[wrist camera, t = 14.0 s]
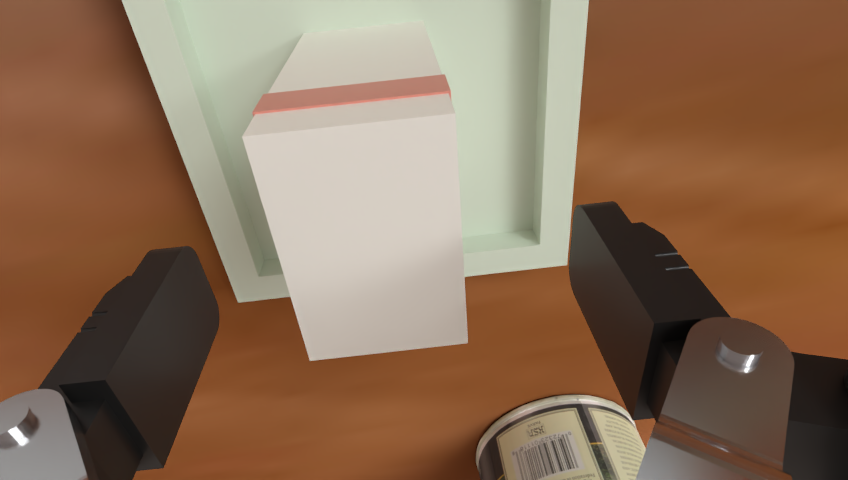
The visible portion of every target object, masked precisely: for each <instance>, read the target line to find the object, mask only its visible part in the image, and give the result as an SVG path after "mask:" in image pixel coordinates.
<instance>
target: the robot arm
mask: <svg viewBox="0 0 848 480" xmlns="http://www.w3.org/2000/svg"><path fill="white" fill-rule="evenodd" d="M569 275H570V282H571V287H572V290H573V293H574V296H575V298H576V300H577V302H578V304H579V306H580V308H581V311H582V313H583V315H584V317H585V319H586V321H587V324H588V326H589V328H590V330H591V332H592V334H593V336H594V339H595V341H596V343H597V345H598V347H599V349H600V352H601V354H602V356H603V358H604V360H605V362H606V364H607V367H608V369H609V371H610V373H611V375H612V377H613V380H614V382H615V384H616V386H617V388H618V390H619V392H620V395H621V397H622V399H623V401H624V403H625V405H626V408H627V410H628V412H629V414H630V416H631V418H632V420H640V419H650V418H655V420H656V423H655V425H654V428H653V431H652V434H651V436H650V439H649V442H648V445H647V448H646V451H645V454H644V457H643V459H642V462H641V465H640V468H639V471H638V474H637V477H636V480H848V360H846V359H838V358H831V357H823V356H816V355H808V354H801V353H795V352H790V350H789V348H788V347H787V346H786V345H785V343H784V342H783V341H782V340H781V339H779V338H778V337H777V336H776V335H774V334H773V333H772V332H770V331H768V330H767V329H765V328H763V327H761V326H759V325H757V324H754V323H751V322H748V321H746V320H741V319H737V318H731V317H730V316H729V315H728V313H727V312H726V311H725V310H724V308H723V307H722V306H721V305H720V303H719V302H718V301H717V300H716V298H715V297H714V296H713V295H712V294H711V292H710V291H709V290H708V289H707V287H706V286H705V285H704V284H703V282H702V281H701V280H700V279H699V278H698V276H697V275H696V274H695V273H694V271H693V270H692V269H689V267H688V264H687V263H686V261H685V260H684V259H683V258H682V257H681V255H678V254H677V250H676V249H675V248H674V247H673V245H672V244H671V243H670V242H669V241H668V239H667V238H666V237H665V236H664V235H663V234H661V233H660V232H658V231H656V230H655V229H653V228H651V227H650V226H648V225H646V224H645V223H643V222H641V223H631V222H630V220H629V219H628V218H627V216H626V215H625V214H624V212H623V211H622V210H621V208H620V207H619V206H618V204H617V203H616V202H613V201H612V202H603V203H594V204H585V205H577V206H576V208H575V210H574V215H573V226H572V238H571V249H570V260H569ZM218 326H219V309H218V304H217V301H216V299H215V296H214V294H213V292H212V289H211V287H210V284H209V282H208V280H207V277H206V275H205V273H204V270H203V268H202V266H201V263H200V261H199V258H198V256H197V254H196V252H195V251H194V250H193V248H191V247H189V246H184V247H175V248H165V249H156V250H151V251H149V252H148V253H147V254H146V256H145V257H144V259H143V260H142V262H141V263H140V264H139V266H138V267H137V269H136V270H135V272H134V273H133V275H132V276H127V277H126V278H125V279H123V280H122V281H121V282H120V283H118V284H117V285H116V286H115V287H113V288H112V289H111V290H110V291H108V292H107V293H106V294H105V295H104V297H103V298H102V299H101V301H100V302H99V304H98V305H97V306H96V308H95V309H94V311H93V312H92V316H91V317H89V318H88V319H87V321H86V322H85V323H84V325H83V326H82V328H81V332H80V333H77V335H76V336H75V337H74V339H73V340H72V342H71V343H70V344H69V346H68V347H67V349H66V350H65V351H64V353H63V354H62V356H61V357H60V358H59V360H58V361H57V363H56V364H55V365H54V367H53V368H52V370H51V371H50V373H49V374H48V375H47V377H46V378H45V380H44V381H43V382H42V384H41V385H40V387H39V388H38V389H36V390H31V391H27V392H23V393H21V394H18V395H15V396H13V397H11V398H8V399H6V400H5V401H3V402H1V403H0V480H132V479H133V477H134V475H135V472H136V471H140V470H149V469H159V468H164V465H165V463H166V460H167V458H168V455H169V453H170V450H171V447H172V445H173V442H174V440H175V437H176V435H177V432H178V430H179V427H180V425H181V422H182V420H183V417H184V414H185V412H186V409H187V407H188V404H189V402H190V399H191V397H192V394H193V392H194V389H195V387H196V384H197V381H198V379H199V376H200V374H201V371H202V369H203V366H204V364H205V361H206V359H207V356H208V354H209V351H210V348H211V346H212V343H213V341H214V338H215V336H216V333H217V330H218Z"/></svg>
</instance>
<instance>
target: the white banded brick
mask: <svg viewBox="0 0 848 480" xmlns="http://www.w3.org/2000/svg"><path fill="white" fill-rule="evenodd" d="M252 114H253V119H252V121H251V122H250V124H249V126H248V127H247V129H246V131H245V132H244V134H243V136H242V139H243V142H244V145H245V148H246V152H247V155H248V158H249V162H250V165H251V168H252V172H253V175H254V178H255V181H256V185H257V188H258V191H259V195H260V198H261V201H262V205H263V208H264V211H265V214H266V218H267V221H268V224H269V228H270V231H271V234H272V237H273V241H274V244H275V247H276V251H277V254H278V257H279V261H280V264H281V267H282V270H283V274H284V277H285V280H286V284H287V287H288V290H289V293H290V297H291V300H292V303H293V307H294V310H295V313H296V317H297V320H298V323H299V326H300V330H301V333H302V336H303V340H304V343H305V346H306V350H307V353H308V356H309V359H310V361H315V360H323V359H332V358H341V357H350V356H359V355H368V354H376V353H385V352H394V351H403V350H412V349H421V348H429V347H438V346H447V345H456V344H465V343H468V333H467V315H466V296H465V278H464V260H463V241H462V223H461V205H460V186H459V168H458V150H457V131H456V113H455V110H454V108H453V105H452V102H451V90H450V87H449V84H448V82H447V79H446V76H445V74H443V75H442V73H441V70H440V68H439V65H438V62H437V59H436V56H435V53H434V50H433V47H432V45H431V42H430V39H429V36H428V33H427V30H426V27H425V25H424V22H423V20H422V21H413V22H404V23H394V24H385V25H376V26H366V27H357V28H348V29H338V30H329V31H320V32H310V33H303V35H302V37H301V38H300V40H299V42H298V43H297V45H296V47H295V48H294V50H293V52H292V53H291V55H290V57H289V59H288V60H287V62H286V64H285V65H284V67H283V69H282V70H281V72H280V74H279V75H278V77H277V79H276V80H275V82H274V84H273V85H272V87H271V89H270V90H269V92H268V94H263V95H262V97H261V99H260V100H259V102H258V104H257V105H256V107H255V108H254V110H253V112H252Z"/></svg>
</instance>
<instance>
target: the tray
mask: <svg viewBox="0 0 848 480" xmlns="http://www.w3.org/2000/svg"><path fill="white" fill-rule="evenodd" d="M122 3H123V5H124V8H125V11H126V13H127V16H128V18H129V21H130V23H131V26H132V29H133V31H134V34H135V36H136V39H137V42H138V44H139V47H140V49H141V52H142V55H143V57H144V60H145V62H146V65H147V68H148V70H149V73H150V75H151V78H152V81H153V83H154V86H155V88H156V91H157V94H158V96H159V99H160V101H161V104H162V107H163V109H164V112H165V114H166V117H167V120H168V122H169V125H170V127H171V130H172V133H173V135H174V138H175V140H176V143H177V145H178V148H179V151H180V153H181V156H182V158H183V161H184V164H185V166H186V169H187V171H188V174H189V177H190V179H191V182H192V184H193V187H194V190H195V192H196V195H197V197H198V200H199V203H200V205H201V208H202V210H203V213H204V216H205V218H206V221H207V223H208V226H209V229H210V231H211V234H212V236H213V239H214V242H215V244H216V247H217V249H218V252H219V255H220V257H221V260H222V262H223V265H224V267H225V270H226V273H227V275H228V278H229V280H230V283H231V286H232V288H233V291H234V293H235V296H236V299H237V301H238V303H240V302H248V301H257V300H266V299H275V298H283V297H290V293H289V290H288V287H287V284H286V280H285V277H284V274H283V270H282V267H281V264H280V261H279V257H278V254H277V251H276V247H275V244H274V241H273V237H272V234H271V231H270V228H269V224H268V221H267V218H266V214H265V211H264V208H263V205H262V201H261V198H260V195H259V191H258V188H257V185H256V181H255V178H254V175H253V172H252V168H251V165H250V162H249V158H248V155H247V152H246V148H245V145H244V142H243V139H242V136H243V134H244V132H245V131H246V129H247V127H248V126H249V124H250V122H251V121H252V119H253V114H252V112H253V110H254V108H255V107H256V105H257V104H258V102H259V100H260V99H261V97H262V95H263V94H268V92H269V90H270V89H271V87H272V85H273V84H274V82H275V80H276V79H277V77H278V75H279V74H280V72H281V70H282V69H283V67H284V65H285V64H286V62H287V60H288V59H289V57H290V55H291V53H292V52H293V50H294V48H295V47H296V45H297V43H298V42H299V40H300V38H301V37H302V35H303V33H310V32H320V31H329V30H338V29H348V28H357V27H366V26H376V25H385V24H394V23H404V22H413V21H422V20H423V22H424V25H425V27H426V30H427V33H428V36H429V39H430V42H431V45H432V47H433V50H434V53H435V56H436V59H437V62H438V65H439V68H440V70H441V73H442V75H443V74H445V76H446V79H447V82H448V84H449V87H450V90H451V102H452V105H453V108H454V110H455V113H456V131H457V150H458V168H459V186H460V205H461V223H462V241H463V260H464V277H467V276H476V275H485V274H493V273H502V272H511V271H520V270H528V269H537V268H546V267H555V266H563V265H567V260H568V247H569V235H570V223H571V211H572V199H573V187H574V175H575V162H576V150H577V138H578V126H579V114H580V102H581V89H582V77H583V65H584V53H585V41H586V29H587V17H588V4H589V0H122Z"/></svg>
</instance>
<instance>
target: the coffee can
mask: <svg viewBox="0 0 848 480" xmlns="http://www.w3.org/2000/svg"><path fill="white" fill-rule="evenodd" d="M645 451H646V448H645V446H644V444H643V442H642V440H641V438H640V436H639V433H638V431H637V429H636V425H635V422H634V420H632V418H631V416H630V414H629V413H628V412H627V411H626V410H625V409H624V408H622V407H621V406H619V405H617V404H616V403H614V402H613V401H609V400H606V399H603V398H600V397H595V396H590V395H559V396H552V397H549V398H545V399H541V400H537V401H534V402H531V403H528V404H525V405H523V406H520V407H518V408H516V409H514V410H513V411H511V412H509V413H507V414H506V415H504V416H503V417H502V418H500V419H499V420H497V421H496V422H495V423H493V424H492V426H491V427H490V428H489V429H488V430H487V431H486V432H485V433H484V435H483V437H482V438H481V440H480V442H479V444H478V447H477V450H476V465H477V468H478V470H479V475H480V479H481V480H636V477H637V474H638V471H639V468H640V465H641V462H642V459H643V457H644V454H645Z"/></svg>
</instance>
